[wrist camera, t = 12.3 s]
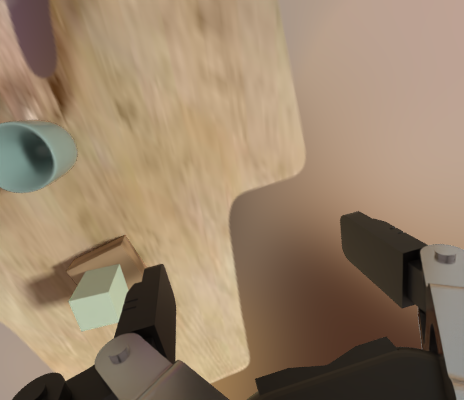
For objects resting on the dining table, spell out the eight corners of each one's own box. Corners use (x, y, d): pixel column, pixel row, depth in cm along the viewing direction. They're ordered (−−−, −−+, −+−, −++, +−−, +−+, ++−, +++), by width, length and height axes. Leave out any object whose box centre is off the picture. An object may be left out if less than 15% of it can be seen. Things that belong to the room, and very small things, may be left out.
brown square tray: (75, 258, 45) (66, 271, 42) (125, 233, 46) (120, 244, 42) (106, 297, 49) (100, 313, 45) (153, 275, 49) (151, 288, 45)
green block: (85, 271, 42) (68, 301, 36) (119, 263, 43) (108, 292, 36) (96, 298, 44) (81, 331, 37) (128, 290, 44) (119, 322, 38)
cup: (67, 110, 38) (31, 111, 29) (94, 163, 41) (69, 180, 32) (11, 129, 38) (-44, 136, 28) (42, 181, 41) (1, 203, 31)
